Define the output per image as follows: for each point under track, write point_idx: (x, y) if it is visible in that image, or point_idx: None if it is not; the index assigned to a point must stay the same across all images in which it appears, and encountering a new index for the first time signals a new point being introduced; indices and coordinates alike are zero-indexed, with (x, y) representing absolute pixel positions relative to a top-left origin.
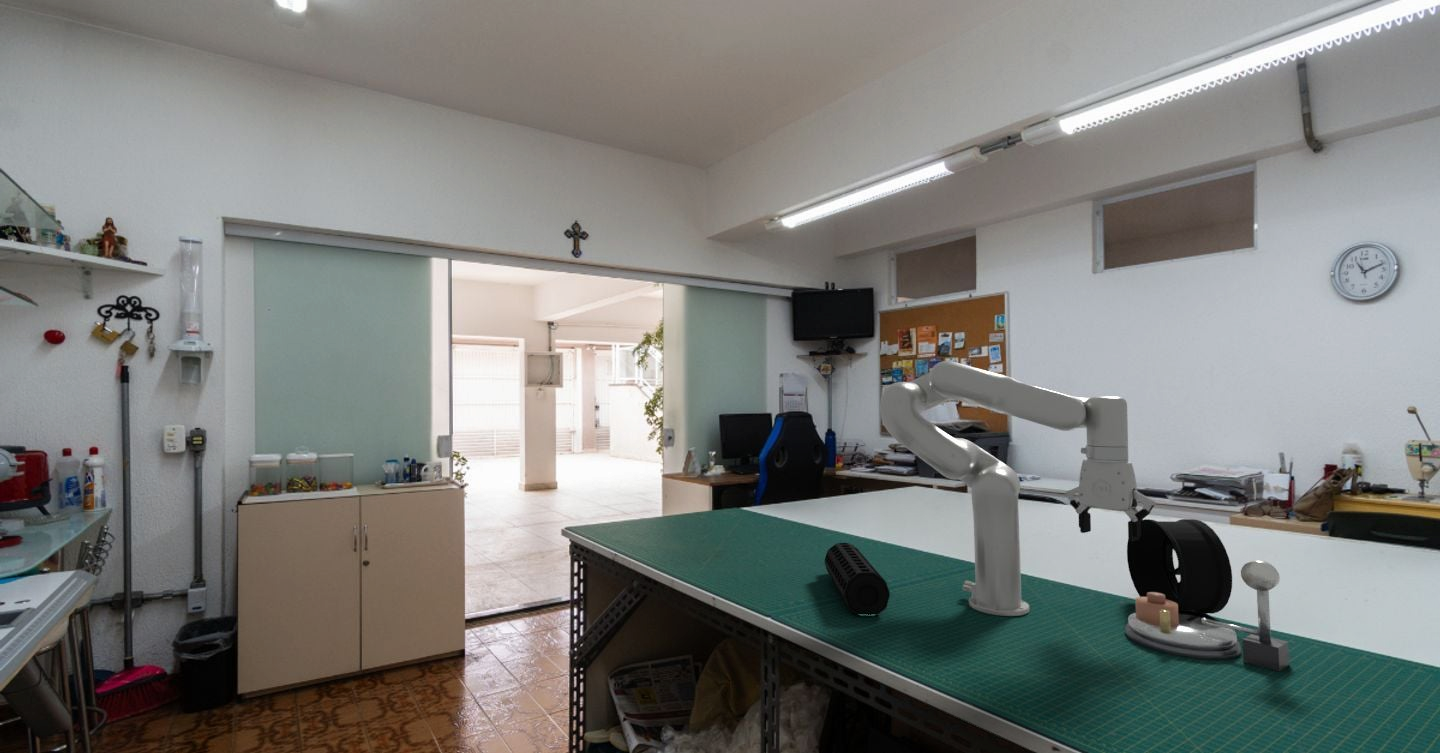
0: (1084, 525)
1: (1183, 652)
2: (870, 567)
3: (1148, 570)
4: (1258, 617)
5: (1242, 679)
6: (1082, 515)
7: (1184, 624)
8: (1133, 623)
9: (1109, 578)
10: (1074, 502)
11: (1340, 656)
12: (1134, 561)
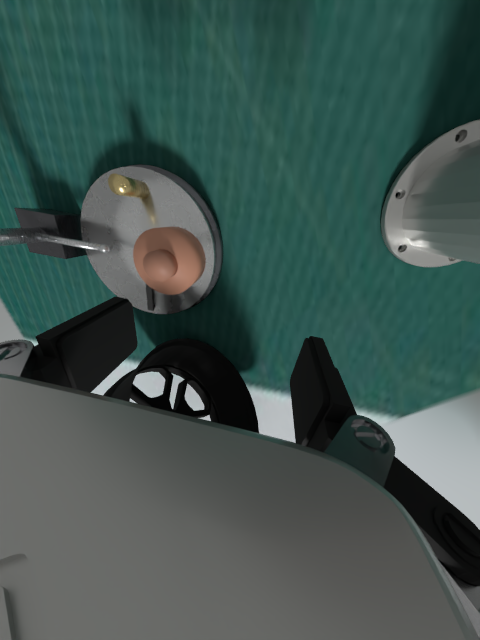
0: (309, 360)
1: None
2: None
3: (236, 427)
4: (5, 232)
5: (44, 125)
6: (331, 397)
7: None
8: (192, 202)
9: None
10: (447, 540)
11: (58, 315)
12: None
